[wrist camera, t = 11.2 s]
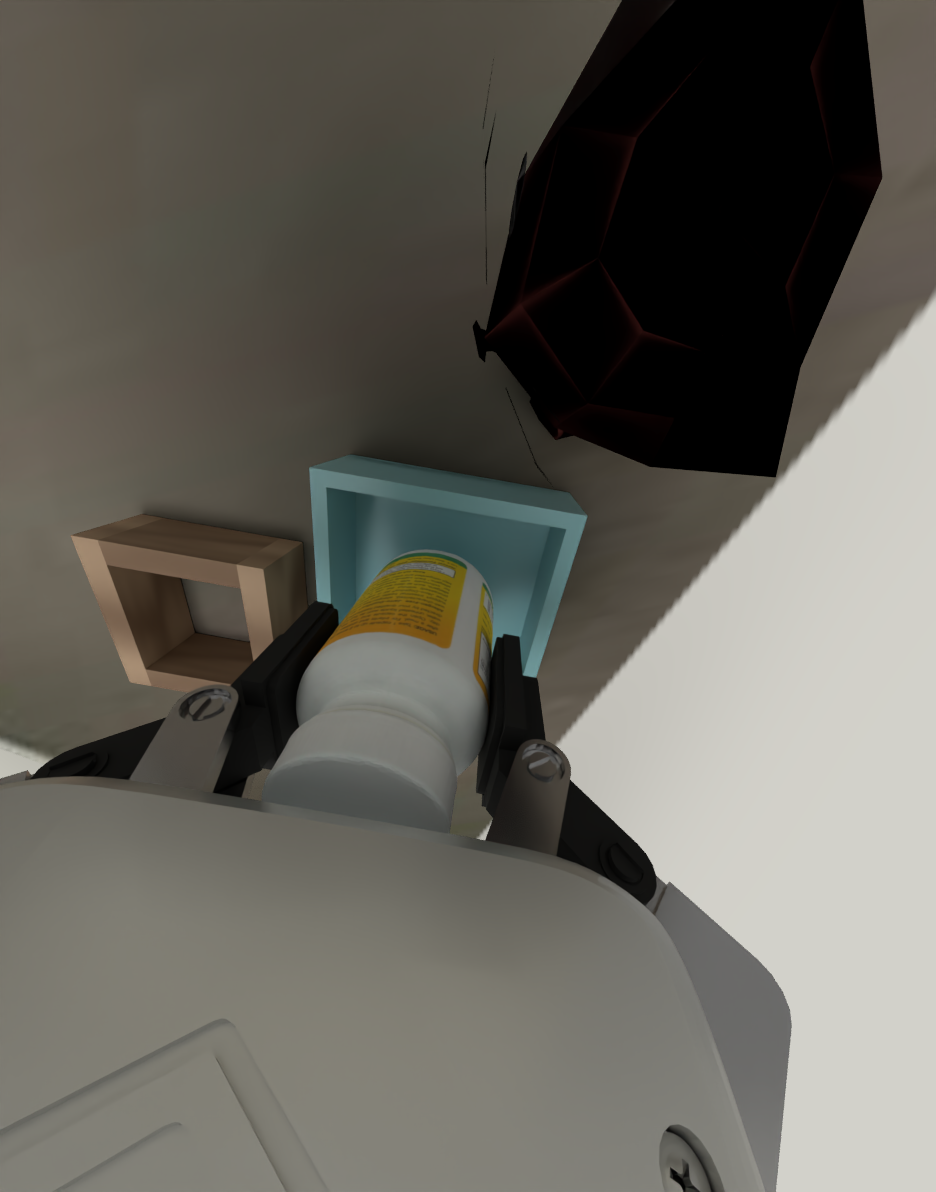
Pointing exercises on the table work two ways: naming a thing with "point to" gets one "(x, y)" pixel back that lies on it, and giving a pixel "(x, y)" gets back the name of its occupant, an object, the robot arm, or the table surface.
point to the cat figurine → (689, 228)
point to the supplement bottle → (395, 698)
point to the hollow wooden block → (157, 601)
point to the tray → (446, 537)
